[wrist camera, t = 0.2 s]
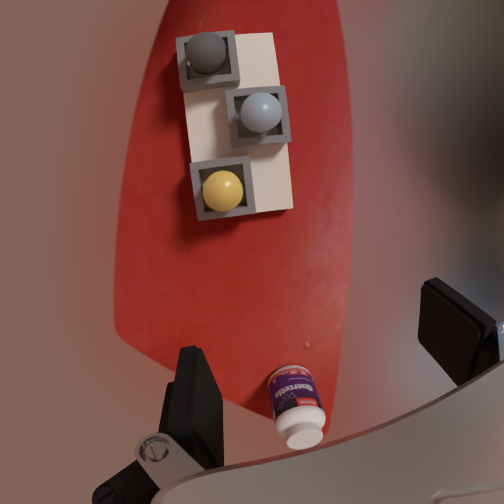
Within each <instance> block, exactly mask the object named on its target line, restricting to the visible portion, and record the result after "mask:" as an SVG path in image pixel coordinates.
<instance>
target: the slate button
mask: <svg viewBox="0 0 504 504" xmlns="http://www.w3.org/2000/svg"><path fill="white" fill-rule="evenodd" d="M281 117H282V107H281V104H280V102H279V101H278V100H277V99H276V98H275V97H274V96H273V95H271V94H268V93H264V92H259V93H254V94H252V95H250V96H249V97H247V98H246V100H245V101H244V103H243V105H242V108H241V111H240V121H241V123H242V125H243V126H244V127H245V128H246V129H247V130H248V131H250V132H253V133H263V132H266V131H268V130H270V129H272V128H273V127H275V126H276V125H277V124H278V123H279V121H280V119H281Z"/></svg>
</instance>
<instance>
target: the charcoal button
mask: <svg viewBox="0 0 504 504" xmlns="http://www.w3.org/2000/svg"><path fill="white" fill-rule="evenodd" d="M186 55H187V57H188V60H189V62H190V65H191V67H192V68H193V70H194V71H196V72H197V73H200V74H204V75H210V74H213V73H216V72H218V71H219V70H220V69H221V68H222V67H223V66H224V64H225V60H226V46H225V42H224V40H223V39H222V38H221V37H220V36H219V35H217V34H215V33H212V32H203V33H199V34H197V35H195V36H193V37H192V38H191V39H190V40H189V41H188V43H187V45H186Z"/></svg>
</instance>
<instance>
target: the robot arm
mask: <svg viewBox="0 0 504 504" xmlns="http://www.w3.org/2000/svg"><path fill="white" fill-rule="evenodd" d="M495 324H496V320H494V319H493V318H492V317H490V316H489V315H488V314H486V313H485V312H484V311H483V310H481V309H480V308H479V307H477V306H476V305H475V304H473V303H472V302H471V301H469V300H468V299H467V298H465V297H464V296H463V295H461V294H460V293H458V292H457V291H455V290H454V289H453V288H451V287H450V286H449V285H447V284H446V283H444V282H443V281H441V280H440V279H439V278H436V277H435V278H432V279H430V280H427V281H425V282H424V285H423V286H422V288H421V302H420V316H419V329H418V340H419V342H420V343H421V345H422V346H423V347H424V348H425V349H426V350H427V351H428V352H429V354H430V355H431V356H432V357H433V358H434V359H435V360H436V361H437V363H438V364H439V365H440V366H441V367H442V368H443V370H444V371H445V372H446V373H447V374H448V375H449V377H450V378H451V379H452V380H453V381H454V383H455V384H456V385H457V386H458V387H457V388H455V389H453V390H452V391H450V392H448V393H446V394H445V395H442V396H441V397H439V398H437V399H435V400H433V401H431V402H429V403H427V404H425V405H423V406H421V407H419V408H416V409H414V410H412V411H410V412H408V413H406V414H403V415H401V416H399V417H397V418H394V419H392V420H389V421H387V422H384V423H382V424H380V425H377V426H375V427H372V428H369V429H366V430H364V431H361V432H358V433H355V434H353V435H350V436H347V437H344V438H341V439H338V440H334V441H331V442H328V443H324V444H321V445H318V446H314V447H310V448H307V449H303V450H299V451H295V452H291V453H287V454H282V455H278V456H273V457H269V458H264V459H259V460H254V461H248V462H243V463H238V464H233V465H227V466H224V439H223V400H222V395H221V393H220V390H219V388H218V386H217V384H216V381H215V379H214V377H213V374H212V372H211V370H210V367H209V365H208V363H207V360H206V358H205V355H204V353H203V351H202V349H201V348H197V347H196V346H195V345H193V346H188V347H183V348H181V349H180V354H179V359H178V364H177V369H176V374H175V380H174V382H169V383H168V385H167V388H166V393H165V398H164V404H163V409H162V414H161V420H160V425H159V431H158V433H153V434H150V435H148V436H146V437H144V438H143V439H142V440H140V441H139V443H138V444H137V446H136V449H135V456H136V458H137V460H135V461H134V462H133V463H131V464H130V465H129V466H127V467H126V468H124V469H123V470H122V471H120V472H119V473H117V474H116V475H114V476H113V477H112V478H110V479H109V480H107V481H106V482H104V483H103V484H101V485H100V486H99V487H98V488H96V490H95V491H94V493H93V496H92V504H504V322H502V323H501V324H500V325H499V326H498V328H497V327H496V326H495Z"/></svg>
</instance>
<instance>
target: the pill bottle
mask: <svg viewBox="0 0 504 504" xmlns="http://www.w3.org/2000/svg"><path fill="white" fill-rule="evenodd" d="M268 390H269V395H270V401H271V406H272V412H273V418H274V423H275V428H276V431H277V432H278V434H279V435H280V436H282V437H284V438H285V439H286V442H287V445H288V447H290V448H292V449H306V448H309V447H312V446H314V445H316V444H317V443H319V442H320V441H321V440H322V438H323V434H322V430H321V428H322V427H323V425H324V423H325V419H326V417H325V413H324V410H323V407H322V405H321V402H320V399H319V396H318V393H317V390H316V387H315V385H314V382H313V379H312V376H311V374H310V372H309V371H308V370H307V369H306V368H304V367H302V366H297V365H290V366H285V367H282V368H280V369H278V370H277V371H275V372H274V373H273V374H272V375H271V376H270V378H269V381H268Z"/></svg>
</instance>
